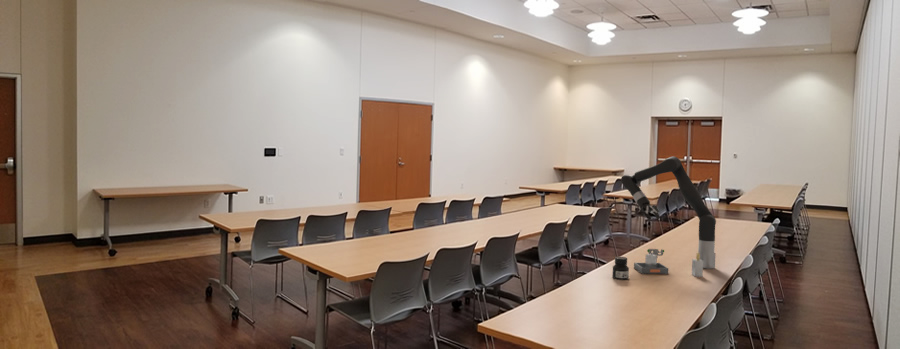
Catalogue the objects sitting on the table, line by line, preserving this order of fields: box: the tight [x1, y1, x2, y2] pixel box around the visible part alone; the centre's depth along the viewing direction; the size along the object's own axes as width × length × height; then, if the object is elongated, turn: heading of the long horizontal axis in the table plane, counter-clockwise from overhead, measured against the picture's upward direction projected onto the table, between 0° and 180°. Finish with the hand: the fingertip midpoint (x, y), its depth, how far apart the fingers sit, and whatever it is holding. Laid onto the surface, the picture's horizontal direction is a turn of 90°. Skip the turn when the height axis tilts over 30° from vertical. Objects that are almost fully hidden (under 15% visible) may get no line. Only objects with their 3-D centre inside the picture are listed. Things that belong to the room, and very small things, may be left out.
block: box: [644, 253, 658, 268], centre depth 346 cm, size 4×4×10 cm
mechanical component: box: [646, 248, 665, 263], centre depth 363 cm, size 3×10×10 cm, turn 89°
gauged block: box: [691, 252, 704, 278], centre depth 336 cm, size 4×4×14 cm
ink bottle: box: [611, 256, 630, 281], centre depth 327 cm, size 10×9×12 cm
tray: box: [633, 262, 669, 275], centre depth 346 cm, size 16×14×4 cm
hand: (654, 219), depth 367 cm, fingers open, 8 cm apart
